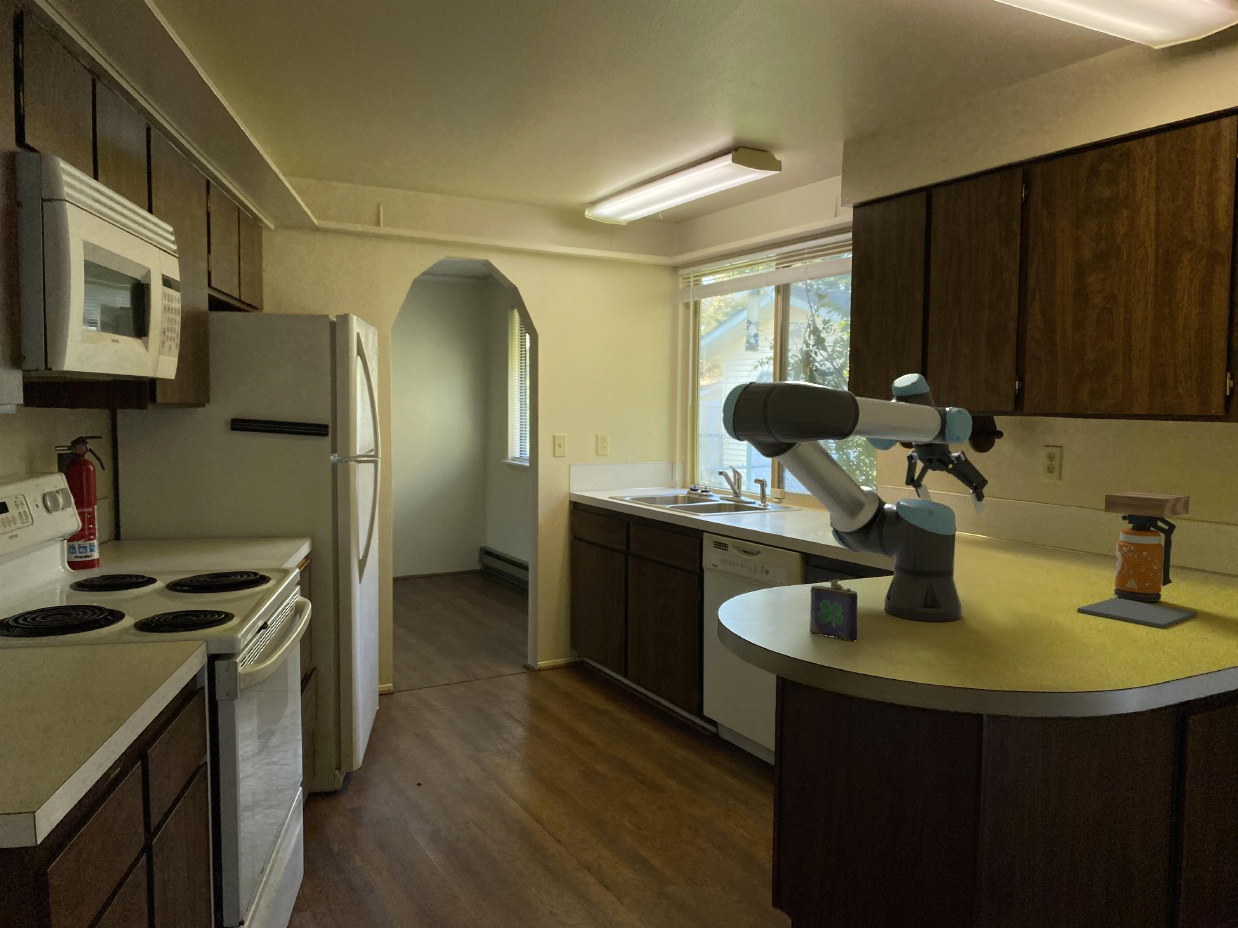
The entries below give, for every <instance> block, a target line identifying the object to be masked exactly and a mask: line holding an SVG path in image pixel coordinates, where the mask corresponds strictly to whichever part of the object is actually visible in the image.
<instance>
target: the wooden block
mask: <svg viewBox="0 0 1238 928" xmlns="http://www.w3.org/2000/svg"><path fill="white" fill-rule="evenodd" d="M1189 510H1190V496H1189V495H1181V494H1167V493H1156V492H1155V493H1153V492H1143V491H1142V492H1140V491H1126V492H1117V493H1115V492H1114V493H1107V494H1105V497H1104V513H1110V514H1111V513H1112V514H1122V515H1127V514H1131V515H1141V516H1151V517H1162V518H1170V517H1177V516H1181V515H1187V514H1190V513H1189Z"/></svg>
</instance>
